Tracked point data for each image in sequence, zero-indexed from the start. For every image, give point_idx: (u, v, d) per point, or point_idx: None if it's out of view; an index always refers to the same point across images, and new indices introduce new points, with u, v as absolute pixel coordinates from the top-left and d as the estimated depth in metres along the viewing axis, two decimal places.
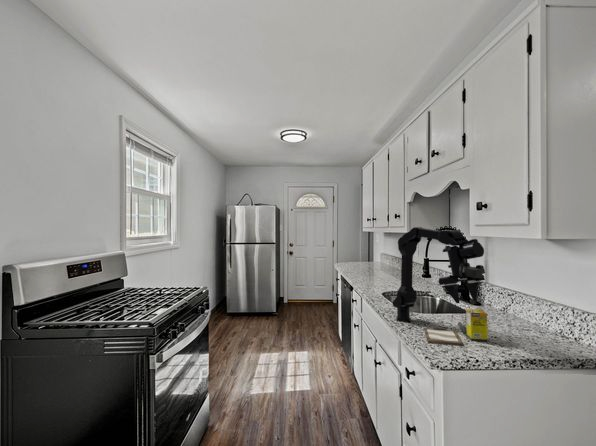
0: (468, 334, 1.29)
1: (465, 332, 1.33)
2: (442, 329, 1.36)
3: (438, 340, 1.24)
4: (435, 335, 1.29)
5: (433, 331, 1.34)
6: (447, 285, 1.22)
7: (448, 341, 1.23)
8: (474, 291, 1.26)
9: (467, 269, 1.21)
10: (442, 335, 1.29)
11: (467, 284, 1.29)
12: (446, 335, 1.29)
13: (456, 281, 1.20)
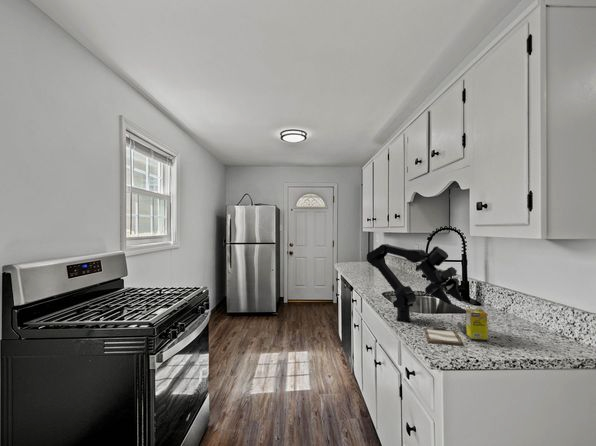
0: (468, 334, 1.29)
1: (464, 332, 1.34)
2: (442, 329, 1.36)
3: (438, 340, 1.24)
4: (435, 335, 1.29)
5: (433, 331, 1.34)
6: (434, 291, 1.34)
7: (448, 341, 1.23)
8: (457, 292, 1.39)
9: (442, 272, 1.37)
10: (442, 335, 1.29)
11: (448, 291, 1.43)
12: (446, 335, 1.29)
13: (440, 284, 1.34)
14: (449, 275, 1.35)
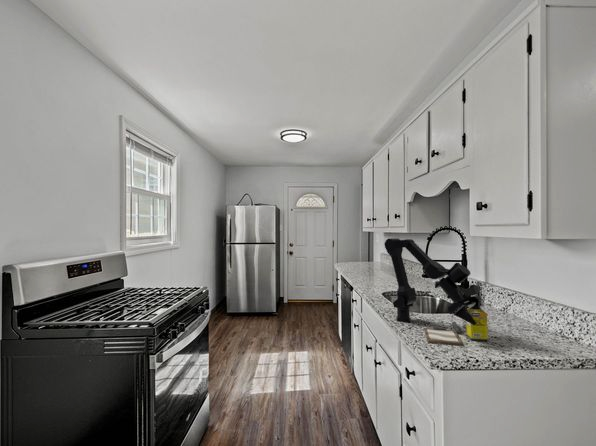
0: (468, 334, 1.29)
1: (460, 332, 1.34)
2: (442, 329, 1.36)
3: (438, 340, 1.24)
4: (435, 335, 1.29)
5: (433, 331, 1.34)
6: (458, 310, 1.27)
7: (448, 341, 1.23)
8: None
9: (465, 290, 1.30)
10: (442, 335, 1.29)
11: None
12: (446, 335, 1.29)
13: (463, 303, 1.26)
14: (472, 294, 1.27)
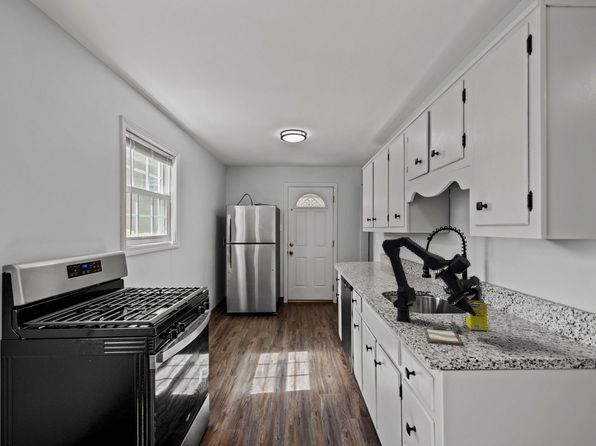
0: (468, 325, 1.29)
1: (459, 332, 1.34)
2: (442, 329, 1.36)
3: (438, 340, 1.24)
4: (435, 335, 1.29)
5: (433, 331, 1.34)
6: (458, 301, 1.27)
7: (448, 341, 1.23)
8: None
9: (465, 281, 1.30)
10: (442, 335, 1.29)
11: None
12: (446, 335, 1.29)
13: (463, 294, 1.26)
14: (472, 284, 1.27)
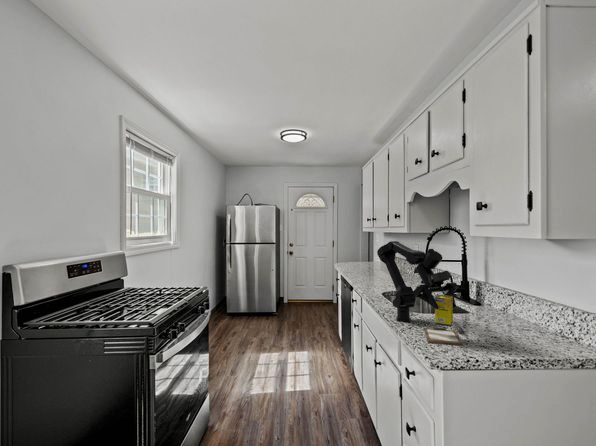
0: None
1: (461, 333, 1.34)
2: (442, 329, 1.36)
3: (438, 340, 1.24)
4: (435, 335, 1.29)
5: (433, 331, 1.34)
6: (422, 294, 1.31)
7: (448, 341, 1.23)
8: None
9: (433, 275, 1.32)
10: (442, 335, 1.29)
11: None
12: (446, 335, 1.29)
13: (426, 287, 1.30)
14: (438, 279, 1.29)
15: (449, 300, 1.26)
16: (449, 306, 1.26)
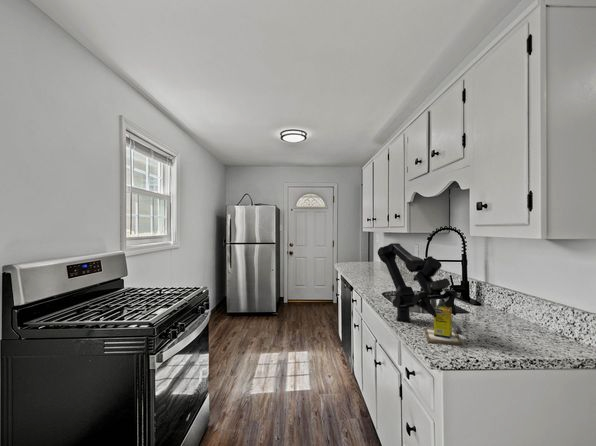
0: None
1: (459, 332, 1.34)
2: None
3: (438, 340, 1.24)
4: None
5: (433, 331, 1.34)
6: (420, 302, 1.31)
7: (448, 341, 1.23)
8: (451, 306, 1.32)
9: (432, 283, 1.32)
10: None
11: (445, 303, 1.36)
12: None
13: (425, 295, 1.30)
14: (437, 287, 1.29)
15: (448, 312, 1.26)
16: (448, 318, 1.26)
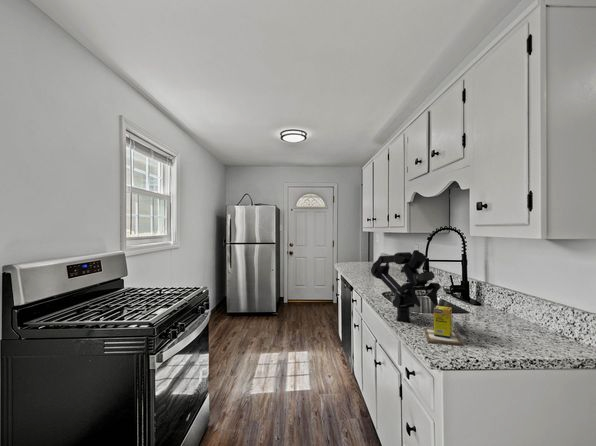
0: None
1: (462, 333, 1.34)
2: None
3: (438, 340, 1.24)
4: None
5: (433, 331, 1.34)
6: (406, 292, 1.40)
7: (448, 341, 1.23)
8: (434, 297, 1.41)
9: (418, 275, 1.41)
10: None
11: (428, 294, 1.45)
12: None
13: (411, 286, 1.39)
14: (423, 278, 1.38)
15: (448, 312, 1.26)
16: (448, 318, 1.26)
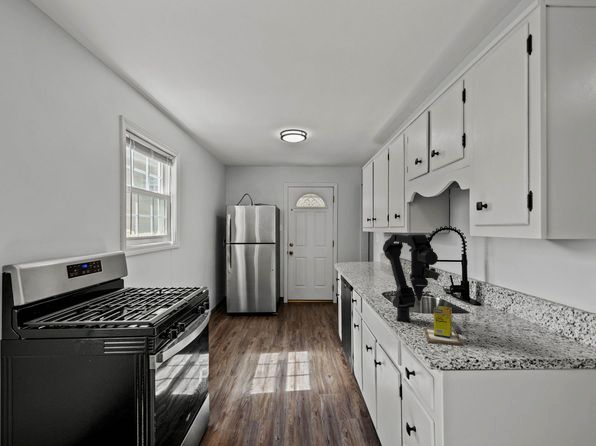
0: None
1: (460, 332, 1.34)
2: None
3: (438, 340, 1.24)
4: None
5: (433, 331, 1.34)
6: (419, 285, 1.35)
7: (448, 341, 1.23)
8: None
9: (432, 272, 1.38)
10: None
11: None
12: None
13: None
14: (435, 279, 1.38)
15: (448, 312, 1.26)
16: (448, 318, 1.26)
